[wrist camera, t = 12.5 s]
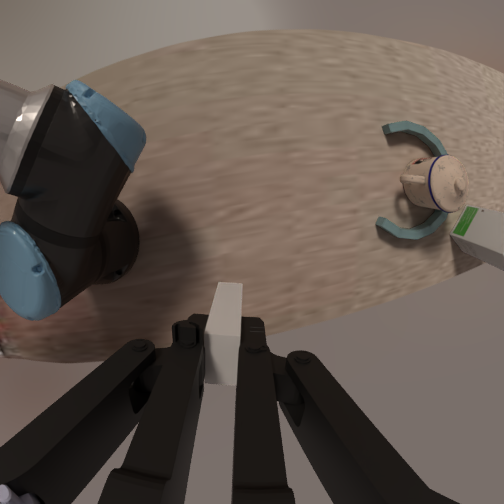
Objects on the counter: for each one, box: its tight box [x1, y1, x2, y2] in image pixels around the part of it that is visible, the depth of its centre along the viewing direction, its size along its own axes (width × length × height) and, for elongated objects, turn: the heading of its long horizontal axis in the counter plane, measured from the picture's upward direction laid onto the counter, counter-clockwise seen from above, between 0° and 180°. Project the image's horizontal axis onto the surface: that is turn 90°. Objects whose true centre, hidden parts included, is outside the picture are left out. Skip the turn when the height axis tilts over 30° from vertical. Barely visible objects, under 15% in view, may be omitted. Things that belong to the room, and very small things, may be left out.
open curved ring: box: [376, 121, 448, 240], centre depth 40 cm, size 16×20×2 cm
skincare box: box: [450, 204, 504, 271], centre depth 36 cm, size 8×7×16 cm
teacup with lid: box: [400, 155, 469, 213], centre depth 36 cm, size 12×9×12 cm
